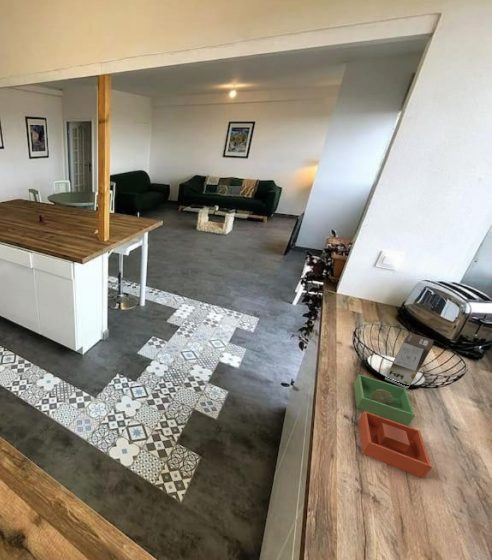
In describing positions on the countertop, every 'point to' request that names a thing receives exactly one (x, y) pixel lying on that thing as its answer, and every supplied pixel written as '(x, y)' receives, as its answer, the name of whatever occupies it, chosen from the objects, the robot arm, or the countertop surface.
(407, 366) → the coffee box
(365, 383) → the green bin
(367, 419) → the terracotta bin
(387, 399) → the lime
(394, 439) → the block
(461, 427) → the countertop surface
